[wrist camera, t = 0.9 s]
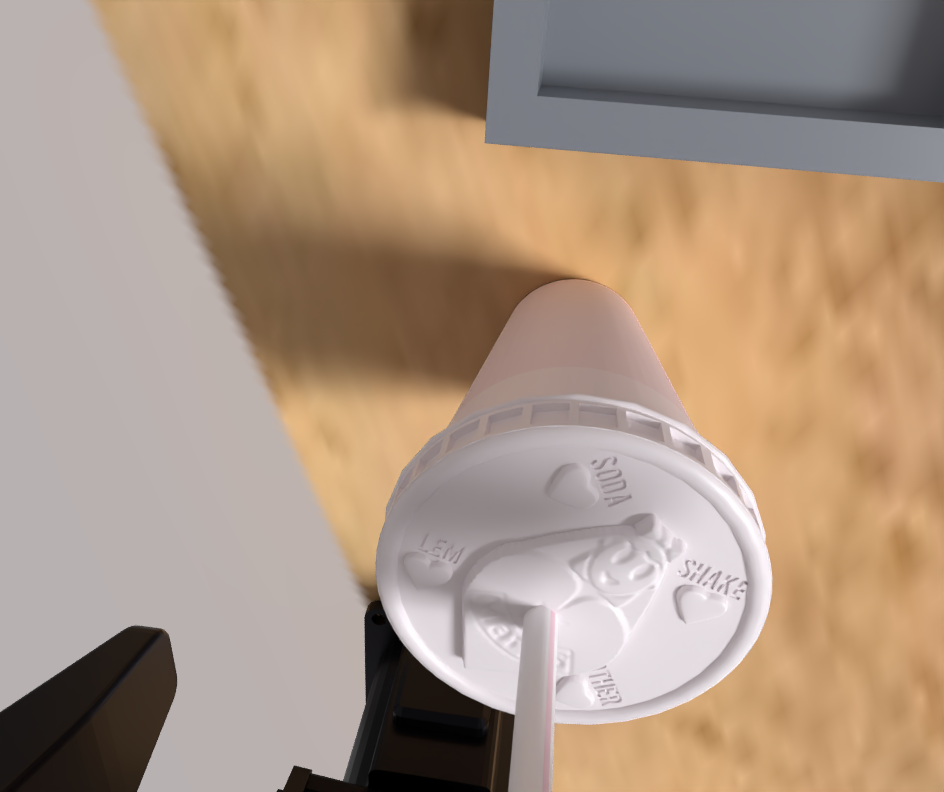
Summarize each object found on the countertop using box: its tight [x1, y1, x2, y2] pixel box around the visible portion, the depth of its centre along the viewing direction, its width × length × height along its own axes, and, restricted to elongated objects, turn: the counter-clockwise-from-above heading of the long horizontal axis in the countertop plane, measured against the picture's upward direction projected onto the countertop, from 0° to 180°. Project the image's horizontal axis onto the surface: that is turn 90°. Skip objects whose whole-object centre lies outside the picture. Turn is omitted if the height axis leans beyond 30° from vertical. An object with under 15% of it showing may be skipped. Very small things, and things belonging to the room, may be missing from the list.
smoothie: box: [376, 279, 772, 792], centre depth 14 cm, size 6×6×14 cm
